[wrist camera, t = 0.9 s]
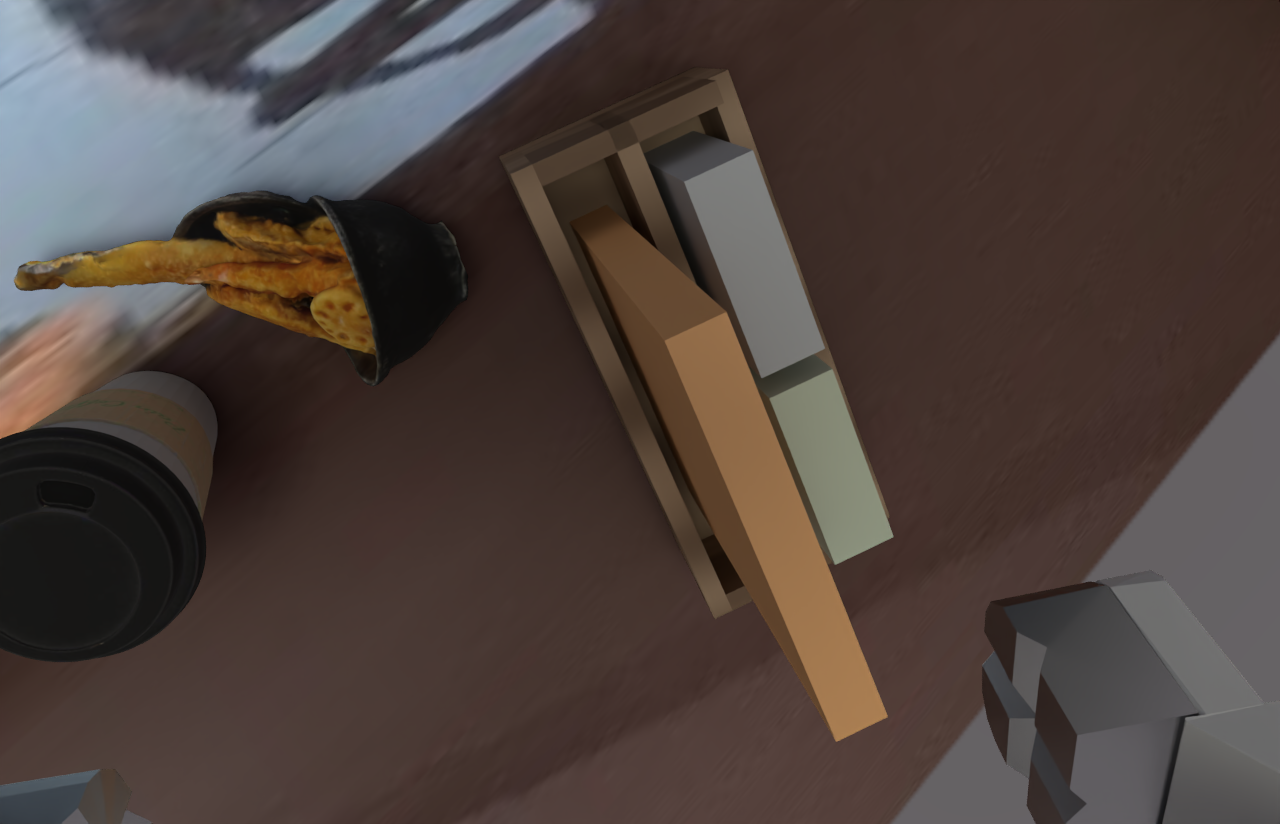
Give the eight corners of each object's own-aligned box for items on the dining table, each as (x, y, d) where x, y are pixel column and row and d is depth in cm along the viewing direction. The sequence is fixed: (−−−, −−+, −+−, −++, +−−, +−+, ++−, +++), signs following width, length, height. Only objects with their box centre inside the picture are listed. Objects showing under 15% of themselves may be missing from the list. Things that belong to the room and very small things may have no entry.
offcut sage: (818, 457, 58) (893, 536, 48) (769, 481, 58) (835, 564, 48) (763, 313, 54) (832, 368, 45) (710, 338, 54) (769, 398, 45)
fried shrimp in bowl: (504, 384, 50) (100, 524, 43) (415, 270, 57) (55, 373, 50) (491, 214, 44) (17, 343, 36) (393, 109, 51) (-21, 200, 43)
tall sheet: (722, 476, 57) (887, 716, 37) (689, 491, 57) (836, 741, 37) (606, 204, 51) (726, 311, 31) (569, 221, 51) (664, 340, 31)
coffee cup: (217, 313, 51) (138, 415, 37) (282, 486, 54) (232, 639, 40) (17, 364, 50) (-142, 488, 36) (96, 537, 53) (-21, 711, 39)
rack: (847, 473, 60) (902, 529, 53) (681, 552, 60) (714, 618, 53) (695, 67, 51) (737, 70, 44) (498, 156, 51) (510, 174, 44)
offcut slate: (756, 296, 54) (825, 348, 45) (703, 320, 54) (761, 378, 45) (693, 130, 51) (753, 149, 41) (636, 156, 51) (684, 181, 41)
